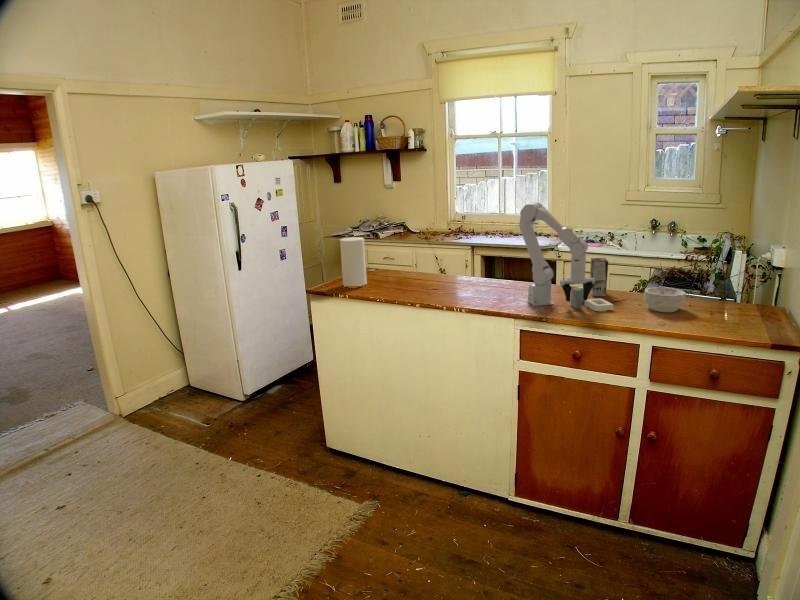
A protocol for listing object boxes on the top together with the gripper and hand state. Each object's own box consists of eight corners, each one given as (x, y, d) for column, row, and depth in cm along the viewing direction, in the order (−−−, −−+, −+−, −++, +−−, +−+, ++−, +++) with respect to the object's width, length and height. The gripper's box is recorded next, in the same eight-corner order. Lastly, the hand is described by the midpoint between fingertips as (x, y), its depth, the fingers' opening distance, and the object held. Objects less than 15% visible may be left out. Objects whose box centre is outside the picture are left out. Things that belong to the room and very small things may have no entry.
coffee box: (606, 296, 238) (608, 261, 234) (591, 296, 240) (593, 261, 235) (603, 291, 247) (605, 257, 243) (588, 291, 248) (590, 257, 244)
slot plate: (595, 311, 217) (596, 305, 216) (584, 305, 226) (584, 299, 226) (612, 310, 218) (613, 304, 217) (600, 303, 227) (601, 298, 226)
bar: (576, 309, 221) (576, 290, 219) (570, 306, 226) (571, 288, 224) (581, 308, 222) (582, 290, 219) (576, 305, 226) (577, 287, 224)
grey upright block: (579, 302, 231) (580, 289, 229) (574, 299, 235) (575, 286, 234) (589, 301, 231) (589, 288, 230) (584, 299, 236) (585, 286, 234)
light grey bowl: (677, 304, 222) (679, 286, 220) (689, 315, 207) (691, 296, 205) (639, 304, 225) (640, 286, 223) (647, 314, 211) (649, 295, 208)
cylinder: (368, 287, 273) (365, 239, 266) (344, 289, 270) (341, 241, 263) (364, 282, 284) (361, 236, 278) (341, 284, 282) (338, 238, 275)
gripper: (565, 272, 215) (564, 304, 218) (599, 269, 216) (597, 301, 220) (558, 268, 221) (557, 299, 225) (591, 266, 223) (589, 297, 227)
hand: (576, 300), depth 223 cm, fingers open, 7 cm apart
